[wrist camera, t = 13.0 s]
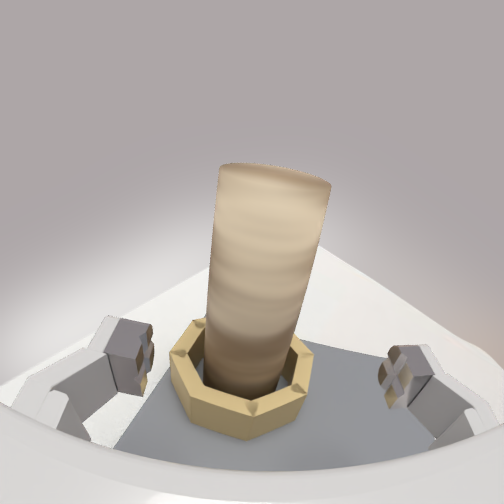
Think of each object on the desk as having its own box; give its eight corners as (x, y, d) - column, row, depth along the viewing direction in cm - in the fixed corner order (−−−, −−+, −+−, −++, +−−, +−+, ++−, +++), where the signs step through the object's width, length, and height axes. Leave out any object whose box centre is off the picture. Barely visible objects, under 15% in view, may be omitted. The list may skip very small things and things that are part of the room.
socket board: (429, 547, 7) (471, 529, 6) (99, 480, 11) (77, 454, 9) (416, 371, 22) (436, 339, 21) (206, 321, 26) (208, 284, 24)
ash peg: (275, 417, 17) (343, 198, 11) (196, 407, 17) (209, 177, 11) (274, 363, 21) (320, 173, 15) (208, 354, 21) (227, 159, 15)
